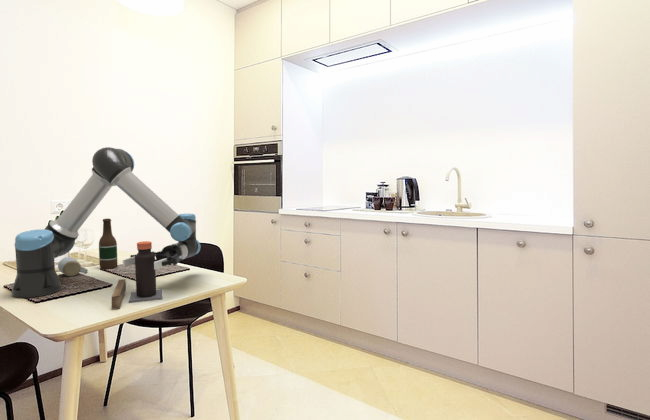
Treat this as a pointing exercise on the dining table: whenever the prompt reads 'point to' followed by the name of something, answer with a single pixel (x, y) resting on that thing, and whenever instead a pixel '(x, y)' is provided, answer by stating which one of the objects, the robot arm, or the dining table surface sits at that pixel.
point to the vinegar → (145, 270)
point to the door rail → (118, 294)
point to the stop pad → (137, 299)
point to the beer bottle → (107, 247)
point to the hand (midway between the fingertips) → (139, 264)
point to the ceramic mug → (70, 266)
